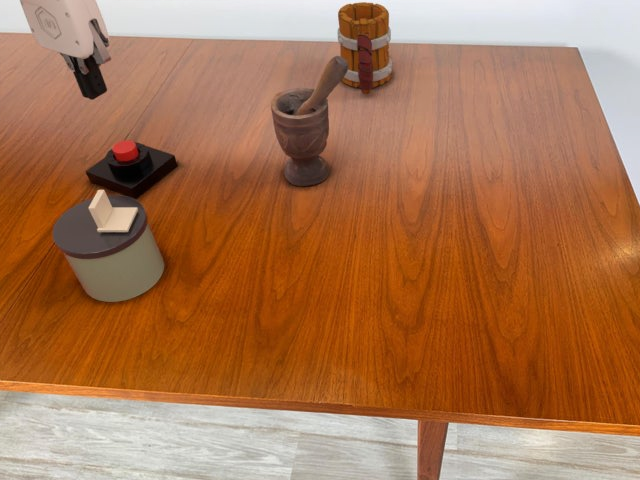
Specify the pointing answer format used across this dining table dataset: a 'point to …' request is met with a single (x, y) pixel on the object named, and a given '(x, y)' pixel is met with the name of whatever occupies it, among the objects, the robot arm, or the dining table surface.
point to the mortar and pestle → (306, 125)
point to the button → (125, 150)
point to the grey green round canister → (109, 252)
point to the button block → (132, 171)
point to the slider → (111, 214)
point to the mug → (365, 44)
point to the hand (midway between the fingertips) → (95, 94)
